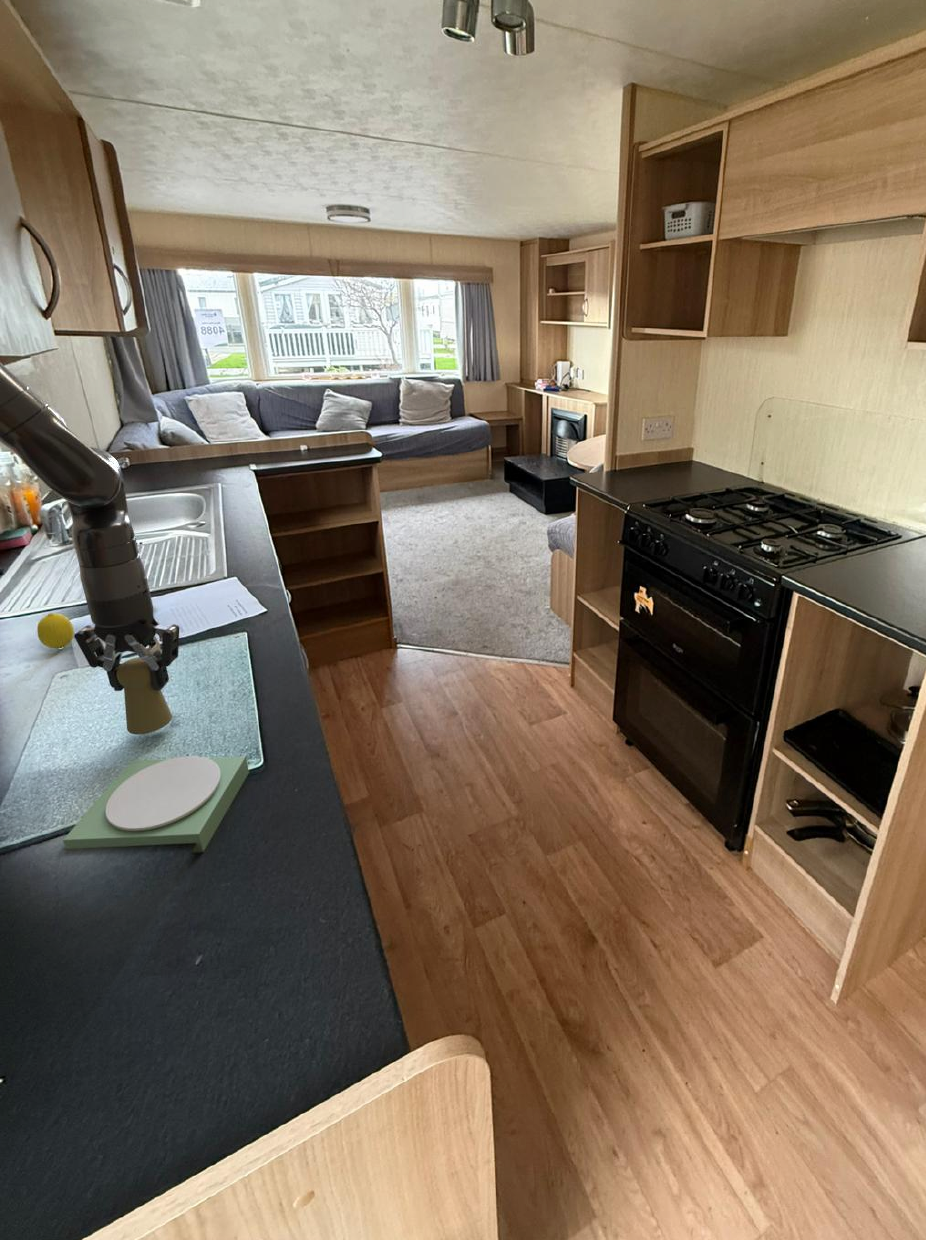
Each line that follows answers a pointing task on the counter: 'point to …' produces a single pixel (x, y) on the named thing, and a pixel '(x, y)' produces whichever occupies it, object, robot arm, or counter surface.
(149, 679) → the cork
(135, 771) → the scale
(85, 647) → the robot arm
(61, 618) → the lemon
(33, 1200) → the counter surface
